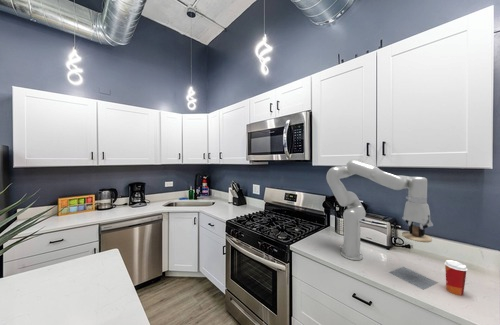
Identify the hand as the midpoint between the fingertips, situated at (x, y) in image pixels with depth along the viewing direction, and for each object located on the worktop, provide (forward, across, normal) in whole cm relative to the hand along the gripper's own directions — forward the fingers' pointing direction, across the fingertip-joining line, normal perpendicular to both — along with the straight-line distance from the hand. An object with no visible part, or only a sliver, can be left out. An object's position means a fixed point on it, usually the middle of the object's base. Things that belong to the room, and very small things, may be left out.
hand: (416, 234), depth 105 cm
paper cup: (+24, +14, +5) cm, 28 cm away
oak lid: (+2, 0, 0) cm, 2 cm away
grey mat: (+24, -1, 0) cm, 24 cm away
